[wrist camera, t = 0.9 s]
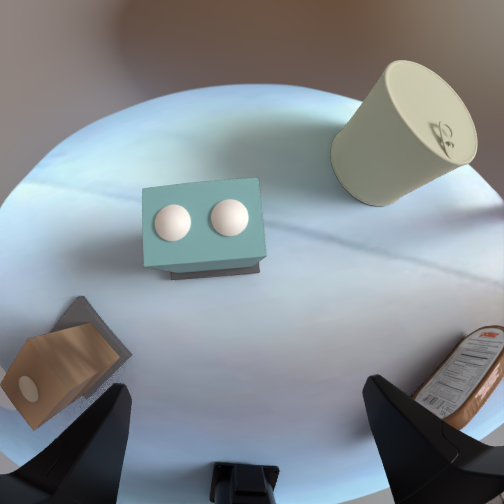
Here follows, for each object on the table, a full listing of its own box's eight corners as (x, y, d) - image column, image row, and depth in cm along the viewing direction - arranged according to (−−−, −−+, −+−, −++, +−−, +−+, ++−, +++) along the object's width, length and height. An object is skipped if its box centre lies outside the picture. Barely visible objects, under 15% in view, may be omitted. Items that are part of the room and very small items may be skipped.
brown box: (120, 357, 20) (66, 392, 11) (85, 392, 20) (32, 431, 11) (90, 322, 21) (27, 338, 12) (58, 360, 20) (-2, 385, 11)
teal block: (252, 266, 22) (267, 255, 13) (177, 272, 22) (143, 266, 13) (247, 217, 23) (258, 176, 14) (174, 224, 22) (141, 187, 13)
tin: (400, 423, 23) (443, 454, 14) (391, 408, 23) (437, 439, 15) (478, 336, 25) (526, 343, 16) (472, 318, 25) (522, 322, 16)
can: (333, 202, 25) (404, 145, 13) (326, 119, 26) (373, 41, 14) (411, 211, 25) (493, 175, 13) (399, 135, 26) (460, 79, 14)
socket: (132, 354, 22) (128, 357, 21) (90, 395, 21) (86, 399, 20) (84, 296, 22) (78, 296, 21) (47, 341, 21) (42, 343, 20)
